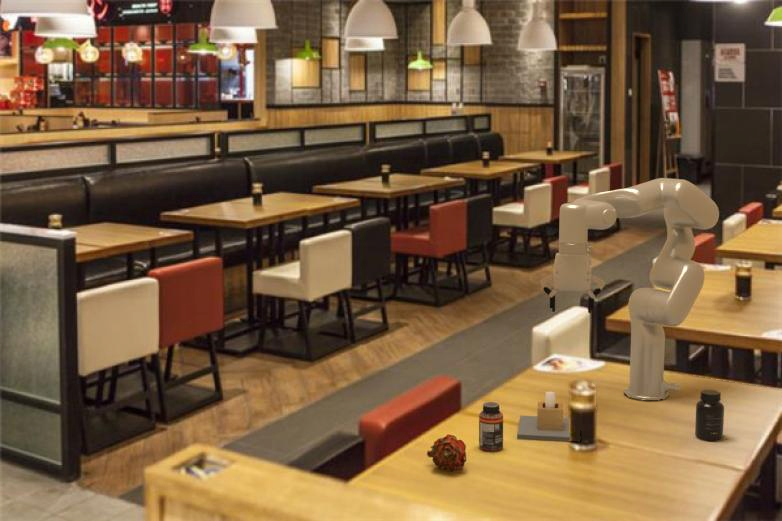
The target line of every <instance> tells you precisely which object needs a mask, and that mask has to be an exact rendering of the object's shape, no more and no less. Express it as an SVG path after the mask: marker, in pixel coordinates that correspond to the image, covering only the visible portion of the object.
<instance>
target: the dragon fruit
mask: <svg viewBox="0 0 782 521" xmlns="http://www.w3.org/2000/svg"><path fill="white" fill-rule="evenodd" d="M466 448H467V447H466V443H465V442H464V441H463V440H462V439H458V438H457V436H456V435H453V434H450V433H449V434H446V435H445V436H444V437H442V438H441V437H440V438H437V439H436V440H435V441H434V442H433V445H431V446H430V449H431V450H427V451H426V455H427V457H428V458H432V462H433V464H434V466H436V467H437V468H439V469H443V470H444V471H447V472H453V471H455V470H458V468H461V467H464V466H465V464H466V463H465V462H467V452H466Z"/></svg>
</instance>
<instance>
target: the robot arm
mask: <svg viewBox="0 0 782 521" xmlns="http://www.w3.org/2000/svg"><path fill="white" fill-rule="evenodd" d="M662 209H663V218H664V220H665V224H666V231H667V237H666V240H665V243H664V245H663V246H662V249H661V250H660V253H659V254H658V256H657V258H656V260H655V261H654V263H653V265H652V267H651V270H650V273H649V280H650V283H652V285H653V286H655V287H657V288H659V289H657V288H653V287H640V288H638V289H635V290H633V292H631V294H630V296H629V299H628V313H629V319H630V330H631V332H630V359H629V361H630V362H629V386H627V387H625V388H624V389H623V394H624V393H625V394H626V395H628V396H630V397H634V398H637V399H645V400H658V401H661V400H660V399H663V400H666V399H667V398H669V392H679V393H680V392H681V385H680V384H675V383H670V382H669V383H668V382H666V381H665V379H664V373H665V370H664V369H665V347H666V345H665V344H666V334H665V330H664V327H663V326H666V327H670V328H671V327H672V328H674V327H677V326H680V325H681V324H683V323H684V321H686V318H687V317H688V316H689V314H690V311H691V309H692V308H693V306H694V304H695V302H696V301H697V299H698V297H699V294H700V293H701V291H702V288H703V286H704V283H705V271H704V267H703V266H702V265H701V264H700V263H699V262H697V261H695V260H692V258H693V256H694V253H695V250H696V239H695V237H694V234H693V230H692V229H698V230H709V229H712V228H713V227H714V226H716V224H717V223H718V221H719V217H720V210H719V207H718V205H717V204H716V202H715V201H714V200H713V199H712V198H710V196H708V195H707V194H706V193H704V191H702V190H701V189H700V188H699V187H697V186H696V185H695V184H693V182H690V181H689V180H686V179H683V178H682V179H679V178H669V177H659V178H655V179H652V180H649V181H645V182H642V183H639V184H637V185H632V186H629V187H625V188H619V189H618V188H617V189H614V190H609V191H602V192H596V193H593V194H589V195H585V196H583V197H579V198H576V199H575V200H574V201H572V202H566V203H563V204H561V206H560V208H559V220H558V221H559V223H558V224H559V229H558V234H559V235H558V237H559V238H558V252H556V253H555V258H554V263H553V274H550V275H548V276H546V277H544V278H541V279H540V280H539V283H540V285H541V286H540V287H541V288H542V289H543V292H544V293H545V294H546V295H547V296H549V309H551V310H552V311H551V312H552V313H555V312H556V296H555V295H556V294H557V293H558V292H586V293H587V295H588V300H587V301H588V302H587V303H588V305H587V312H588V313H589V314H592V310H594V307H595V305H594V304H595V298H596V297H597V296H598V295H599V294H601V292H602V290H603V289H604V287H605V285H606V282H605V281H604V280H602V279H600V278H599V277H597V276H595V275H593V274H592V260H591V254H590V253H588V252H589V251H593V249H594V246H593V245H592V244H589V243H588V236H589V235H588V230H598V231H599V230H608V229H610V228H611V227H613V225H614V224H615V223H616V221H617V219H631V218H638V217H641V216H644V215H647V214H650V213H653V212H655V211H658V210H662ZM551 281H552V283H553V288H552V289H550V288H549V287H548V285H547V283H549V282H551ZM592 282H594V283H596V284H597V285H598V286H597V287H596V288H595V289H594V290H592ZM662 289H663V290H662ZM665 290H667V291H665ZM666 397H667V398H666ZM665 398H666V399H665Z"/></svg>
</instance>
